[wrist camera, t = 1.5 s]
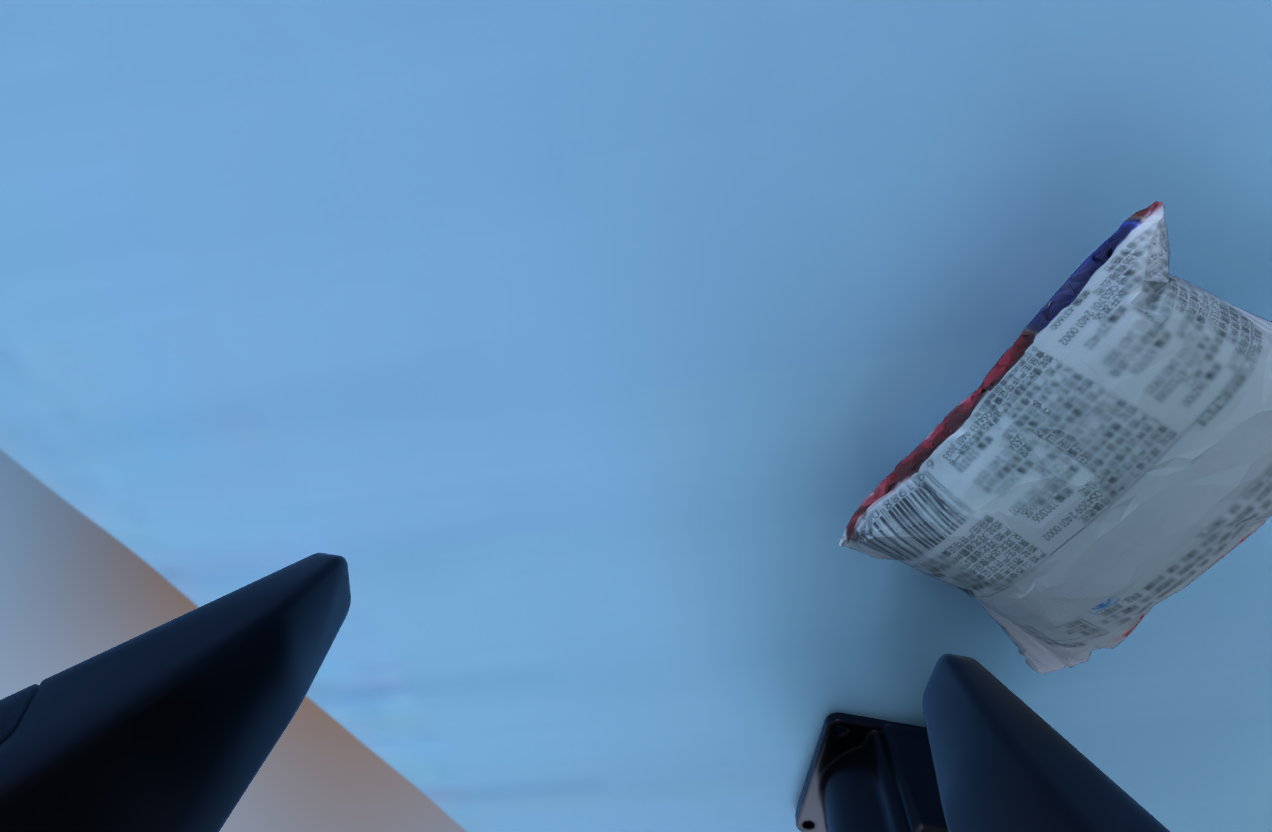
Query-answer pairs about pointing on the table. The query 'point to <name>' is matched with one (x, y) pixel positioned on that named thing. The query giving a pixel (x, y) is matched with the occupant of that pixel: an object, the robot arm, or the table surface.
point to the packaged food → (1092, 457)
